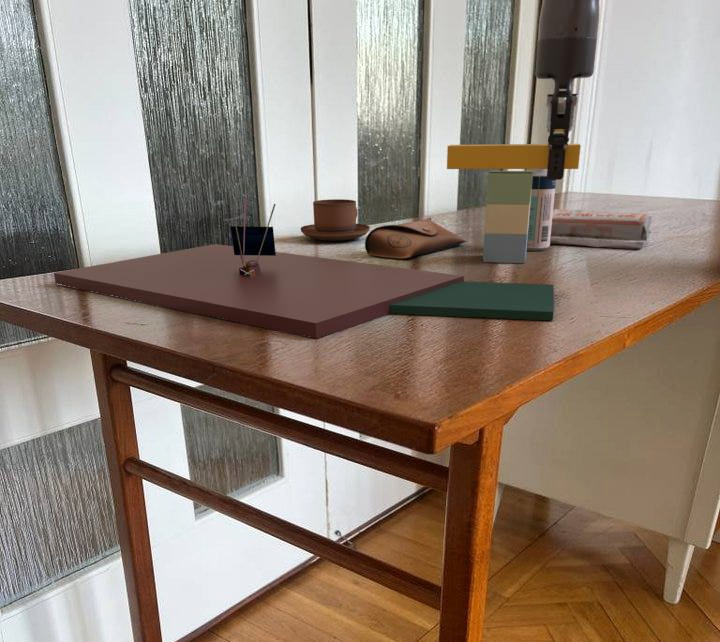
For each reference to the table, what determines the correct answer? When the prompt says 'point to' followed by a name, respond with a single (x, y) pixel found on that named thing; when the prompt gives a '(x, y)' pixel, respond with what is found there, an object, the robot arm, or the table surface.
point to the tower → (507, 216)
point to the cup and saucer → (335, 221)
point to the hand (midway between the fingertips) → (554, 177)
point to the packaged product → (600, 229)
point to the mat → (483, 301)
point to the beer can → (540, 210)
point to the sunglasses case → (410, 239)
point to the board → (260, 284)
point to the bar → (507, 156)
